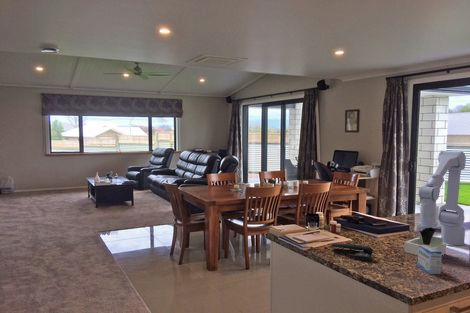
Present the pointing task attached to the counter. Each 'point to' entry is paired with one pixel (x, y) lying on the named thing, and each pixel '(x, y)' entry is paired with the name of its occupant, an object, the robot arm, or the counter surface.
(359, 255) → the can opener
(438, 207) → the foam cup
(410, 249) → the white open tray
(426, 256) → the medicine box
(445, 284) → the counter surface
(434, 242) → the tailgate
